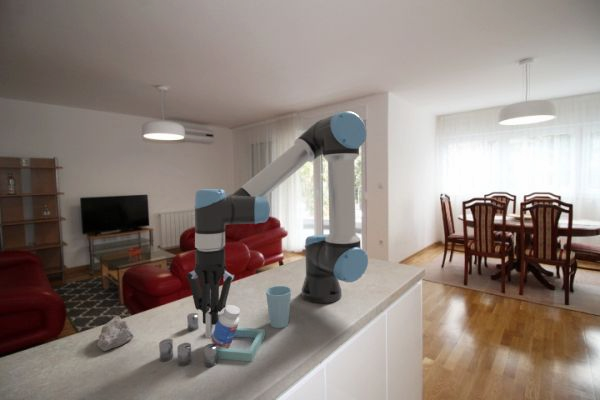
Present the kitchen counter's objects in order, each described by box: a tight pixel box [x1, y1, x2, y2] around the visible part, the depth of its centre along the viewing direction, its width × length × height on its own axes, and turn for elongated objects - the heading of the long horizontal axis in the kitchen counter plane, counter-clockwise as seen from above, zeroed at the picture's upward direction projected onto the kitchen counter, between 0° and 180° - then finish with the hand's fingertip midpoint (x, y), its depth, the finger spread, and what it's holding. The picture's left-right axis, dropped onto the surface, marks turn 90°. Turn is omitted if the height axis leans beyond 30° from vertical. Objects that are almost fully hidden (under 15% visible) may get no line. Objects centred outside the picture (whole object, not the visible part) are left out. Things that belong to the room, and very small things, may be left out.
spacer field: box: [158, 312, 220, 368], centre depth 75 cm, size 16×18×4 cm
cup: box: [265, 285, 292, 329], centre depth 85 cm, size 8×8×10 cm
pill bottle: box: [210, 304, 241, 348], centre depth 74 cm, size 6×5×10 cm
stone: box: [96, 315, 134, 352], centre depth 77 cm, size 8×10×6 cm
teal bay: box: [217, 326, 266, 362], centre depth 74 cm, size 9×11×2 cm
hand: (210, 335), depth 75 cm, fingers closed
